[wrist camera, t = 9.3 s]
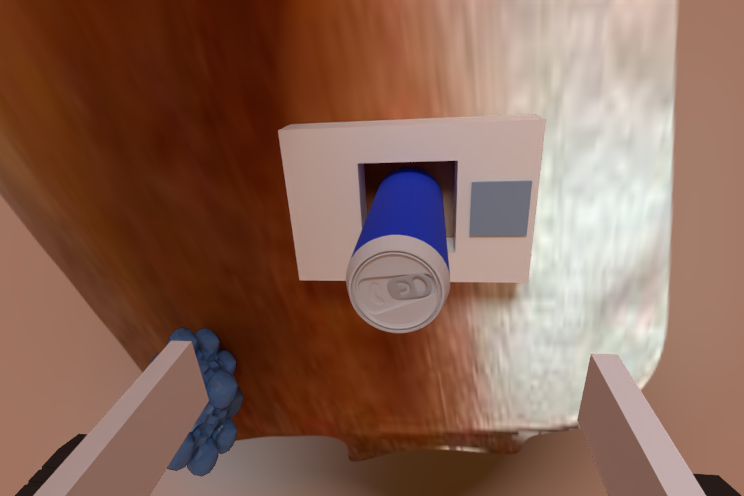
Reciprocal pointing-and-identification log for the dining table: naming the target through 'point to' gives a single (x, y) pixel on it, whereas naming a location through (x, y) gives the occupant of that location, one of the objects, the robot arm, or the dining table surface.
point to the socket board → (417, 144)
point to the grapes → (209, 404)
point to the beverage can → (401, 255)
